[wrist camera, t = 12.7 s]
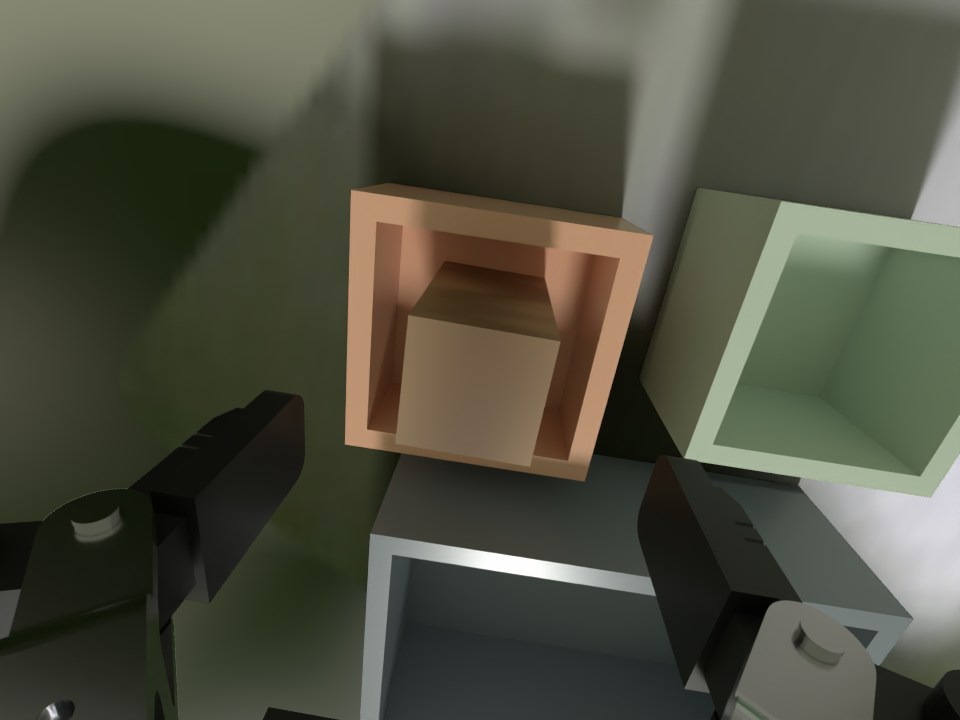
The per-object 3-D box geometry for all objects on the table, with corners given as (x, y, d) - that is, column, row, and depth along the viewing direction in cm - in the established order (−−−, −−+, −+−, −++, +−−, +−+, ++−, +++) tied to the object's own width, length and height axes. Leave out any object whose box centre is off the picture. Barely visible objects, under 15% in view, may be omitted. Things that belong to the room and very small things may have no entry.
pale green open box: (912, 219, 17) (1095, 248, 12) (819, 406, 21) (930, 497, 15) (697, 187, 17) (781, 201, 12) (638, 379, 21) (683, 459, 15)
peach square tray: (622, 217, 18) (653, 235, 14) (571, 419, 22) (584, 481, 18) (388, 182, 18) (351, 190, 14) (377, 389, 22) (345, 444, 18)
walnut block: (544, 277, 19) (560, 341, 12) (525, 368, 20) (530, 466, 14) (445, 260, 19) (408, 315, 12) (433, 352, 20) (395, 443, 14)
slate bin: (798, 485, 22) (913, 618, 16) (704, 669, 28) (761, 823, 21) (411, 425, 22) (370, 533, 16) (394, 620, 28) (357, 758, 21)
